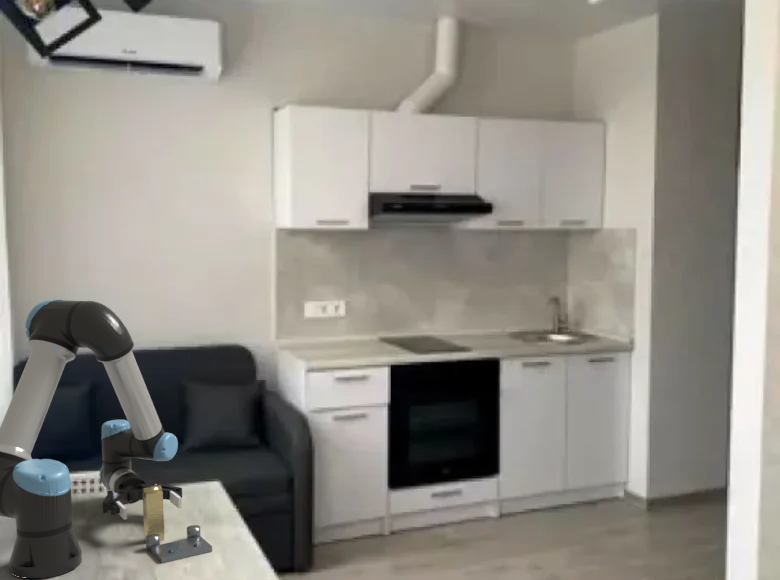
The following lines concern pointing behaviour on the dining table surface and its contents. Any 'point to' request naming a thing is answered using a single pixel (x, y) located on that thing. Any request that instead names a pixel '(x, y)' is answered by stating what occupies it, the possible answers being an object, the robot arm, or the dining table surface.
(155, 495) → the brass rectangular post
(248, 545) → the dining table surface
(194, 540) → the fixed leaf
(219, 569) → the dining table surface
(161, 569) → the dining table surface
